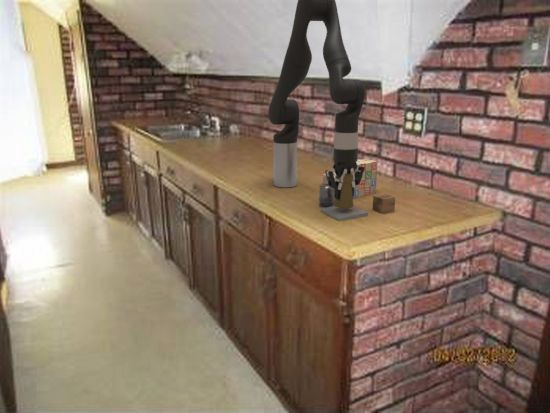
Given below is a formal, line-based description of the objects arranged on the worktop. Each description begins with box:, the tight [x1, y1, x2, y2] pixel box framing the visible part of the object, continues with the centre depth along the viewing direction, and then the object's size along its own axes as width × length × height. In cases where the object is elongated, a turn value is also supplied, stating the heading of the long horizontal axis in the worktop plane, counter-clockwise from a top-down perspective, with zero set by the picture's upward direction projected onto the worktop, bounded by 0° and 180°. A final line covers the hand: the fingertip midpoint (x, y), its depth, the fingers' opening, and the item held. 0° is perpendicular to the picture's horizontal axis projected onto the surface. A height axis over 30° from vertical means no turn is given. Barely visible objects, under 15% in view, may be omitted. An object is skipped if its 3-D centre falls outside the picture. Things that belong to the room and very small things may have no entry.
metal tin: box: [318, 183, 335, 208], centre depth 161 cm, size 5×5×7 cm
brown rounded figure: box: [334, 173, 354, 209], centre depth 151 cm, size 6×6×11 cm
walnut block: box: [372, 193, 396, 215], centre depth 155 cm, size 5×5×5 cm
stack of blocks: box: [321, 158, 378, 204], centre depth 171 cm, size 21×6×12 cm, turn 126°
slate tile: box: [319, 205, 369, 222], centre depth 153 cm, size 11×11×1 cm
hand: (344, 198), depth 152 cm, fingers closed on brown rounded figure, 4 cm apart
